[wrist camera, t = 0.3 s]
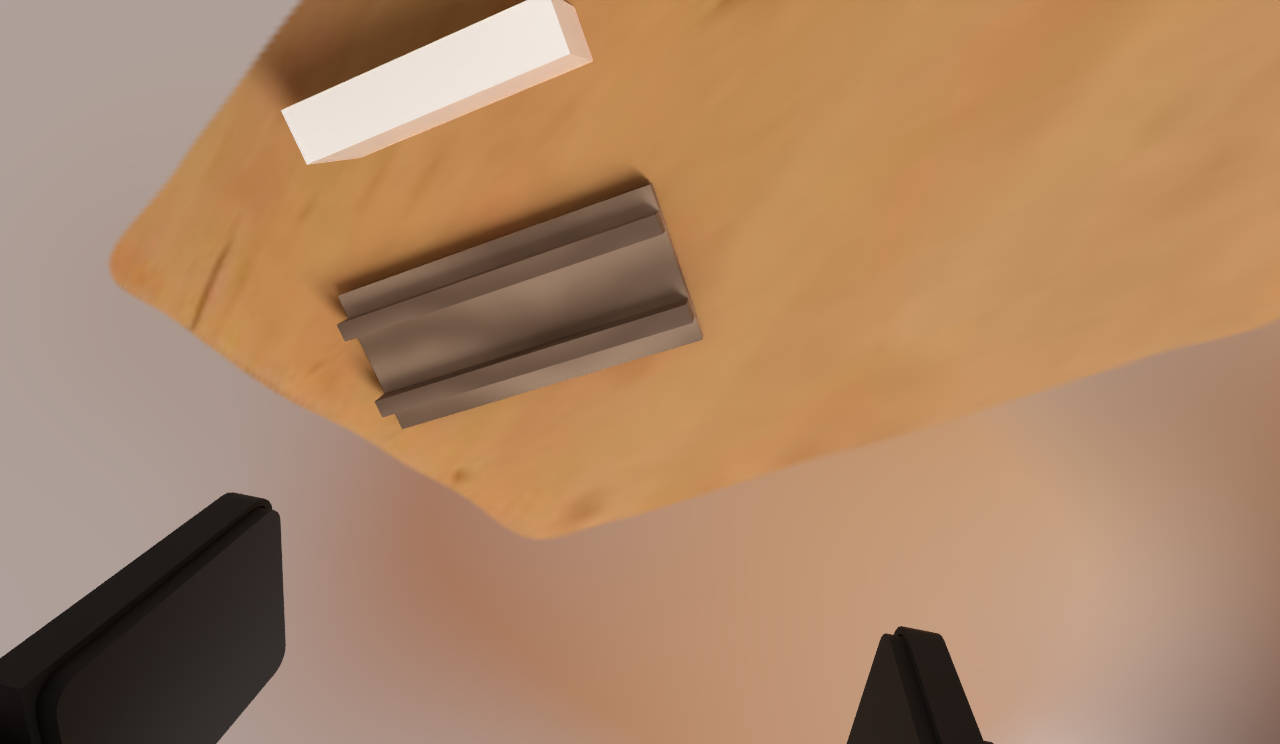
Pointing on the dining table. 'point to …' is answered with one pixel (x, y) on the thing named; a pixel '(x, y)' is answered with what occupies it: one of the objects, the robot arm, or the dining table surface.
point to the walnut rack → (525, 310)
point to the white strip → (440, 81)
